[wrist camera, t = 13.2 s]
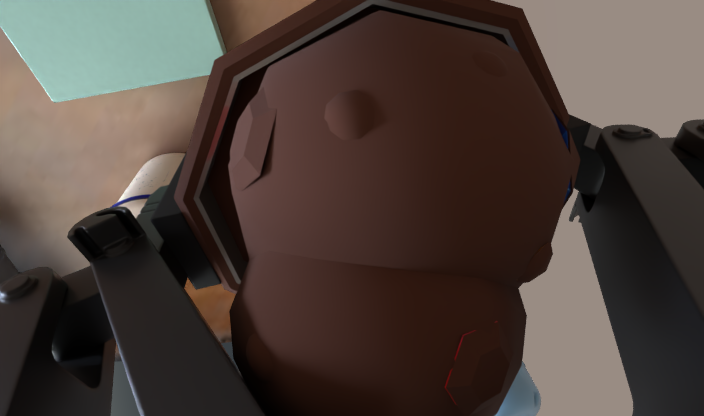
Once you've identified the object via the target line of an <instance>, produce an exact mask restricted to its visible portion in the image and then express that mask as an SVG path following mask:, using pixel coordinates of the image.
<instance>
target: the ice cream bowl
mask: <svg viewBox="0 0 704 416" xmlns="http://www.w3.org/2000/svg"><path fill="white" fill-rule="evenodd" d="M569 118H570V116H569V114H568V112H567V109H566V107H565V105H564V103H563V100H562V98H561V96H560V94H559V91H558V89H557V87H556V84H555V82H554V80H553V78H552V75H551V73H550V71H549V69H548V66H547V64H546V62H545V59H544V57H543V55H542V53H541V50H540V48H539V46H538V43H537V41H536V39H535V37H534V34H533V32H532V30H531V27H530V25H529V23H528V21H527V19H526V16H525V14H524V12H523V9H521V8H518V7H514V6H510V5H507V4H503V3H498V2H495V1H491V0H316V1H315V2H313V3H311V4H310V5H308V6H306V7H304V8H303V9H301V10H299V11H298V12H296V13H294V14H292V15H291V16H289V17H287V18H286V19H284V20H282V21H280V22H279V23H277V24H275V25H274V26H272V27H270V28H268V29H267V30H265V31H263V32H262V33H260V34H258V35H256V36H255V37H253V38H251V39H250V40H248V41H246V42H244V43H243V44H241V45H239V46H238V47H236V48H234V49H232V50H231V51H229V52H227V53H226V54H224V55H222V56H220V57H219V58H217V59H215V60H214V63H213V66H212V70H211V73H210V76H209V80H208V83H207V87H206V90H205V93H204V97H203V100H202V103H201V107H200V110H199V113H198V117H197V120H196V124H195V127H194V130H193V134H192V137H191V140H190V144H189V147H188V151H187V154H186V157H185V161H184V164H183V167H182V171H181V174H180V177H179V181H178V184H177V188H176V191H175V194H174V200H175V201H176V203H177V205H178V207H179V209H180V210H181V212H182V214H183V216H184V218H185V219H186V221H187V223H188V225H189V226H190V228H191V230H192V232H193V233H194V235H195V237H196V239H197V240H198V242H199V244H200V246H201V247H202V249H203V251H204V253H205V254H206V256H207V258H208V260H209V262H210V263H211V265H212V267H213V269H214V270H215V272H216V274H217V276H218V277H219V279H220V281H221V284H222V286H223V287H224V289H225V290H228V291H230V292H232V293H235V294H236V296H235V298H234V301H233V304H232V306H231V309H230V322H231V334H232V346H233V357H234V360H235V362H236V365H237V366H238V369H239V371H240V373H241V375H242V377H243V379H244V381H245V382H246V384H247V385H248V387H249V388H250V390H251V391H252V393H253V394H254V396H255V397H256V399H257V400H258V402H259V403H260V405H261V406H262V408H263V409H264V411H265V412H266V414H267V415H268V416H495V415H496V414H497V413H498V411H499V409H500V407H501V405H502V403H503V401H504V399H505V397H506V395H507V393H508V391H509V389H510V387H511V385H512V383H513V381H514V379H515V377H516V375H517V374H518V372H519V370H520V368H521V366H522V357H523V346H524V337H525V336H524V335H525V327H526V316H527V315H526V312H525V309H524V305H523V302H522V299H521V296H520V293H519V289H518V288H519V287H520V286H521V285H522V284H523V283H526V282H530V281H531V280H533V279H534V278H536V277H537V276H539V275H541V274H542V273H544V272H545V271H546V270H547V267H548V264H549V262H550V260H551V257H552V255H553V253H552V247H551V242H552V238H553V235H554V232H555V229H556V226H557V223H558V220H559V217H560V213H561V211H562V209H563V207H564V205H565V204H566V202H567V201H568V199H569V198H570V196H571V195H572V193H573V189H574V185H575V180H576V176H577V172H578V168H579V164H580V157H579V154H578V152H577V149H576V146H575V144H574V141H573V138H572V136H571V133H570V130H569V129H568V128H567V124H568V121H569Z"/></svg>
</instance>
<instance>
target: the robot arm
mask: <svg viewBox="0 0 704 416" xmlns="http://www.w3.org/2000/svg"><path fill="white" fill-rule="evenodd" d="M569 116H570V118H569V121H568V124H567V128H568V129H569V130H570V133H571V136H572V138H573V141H574V144H575V146H576V149H577V152H578V154H579V157H580V164H579V168H578V172H577V176H576V180H575V185H574V188H575V189H576V190H578V191H579V192H578V195H577V198H576V201H575V204H574V206H573V209H572V212H571V214H570V217H569V221H573V220H574V217H576V216H577V215H579V216H580V219H579V222H581V223H582V227H583V230H584V234H585V237H586V240H587V243H588V247H589V250H590V254H591V257H592V261H593V264H594V268H595V271H596V275H597V278H598V282H599V285H600V288H601V291H602V295H603V299H604V302H605V305H606V308H607V312H608V316H609V319H610V322H611V326H612V329H613V332H614V336H615V339H616V343H617V346H618V350H619V353H620V357H621V360H622V363H623V367H624V370H625V374H626V377H627V381H628V384H629V387H630V391H631V394H632V399H633V415H632V416H704V120H691V121H687V122H685V123H683V125H682V127H681V129H680V131H679V133H678V134H677V136H676V137H675V138H674V137H673V138H660V137H659V136H658V135H657V134H655V133H654V132H653V131H651V130H650V129H648V128H643V127H639V126H635V125H611V126H607V127H604V128H603V129H601V128H599V127H596V126H594V125H592V124H590V123H588V122H586V121H583V120H581V119H578V118H576V117H574V116H572V115H569ZM187 151H188V150H187ZM186 154H187V152H186ZM186 154H185V156H184V157H183V159H182V161H181V163H180V165H179V167H178V168H177V170H176V172H175V174H174V176H173V178H172V180H171V181H170V183H169V185H166V186H161V187H159V188H158V189H157V190H156V191H155V192H153V193H152V194H151V195H150V196H149V198H148V199H147V201H146V203H145V204H144V207H143V208H142V209H141V211H140V214H138V216H137V217H136V218H135V217H134V215H133V214H132V212H131V211H130V210H129V209H128V208H126V207H123V206H116V207H111V208H106V209H103V210H101V211H98V212H95V213H93V214H91V215H89V216H87V217H85V218H84V219H82V220H81V221H79V222H78V223H77V224H75V225H74V226H73V227H72V228H71V230H70V231H69V232H68V237H67V238H68V239H69V240H70V241H71V242H72V243H73V244H74V245H75V246H76V248H77V249H78V250H79V251H80V252H81V253H82V254H83V255H84V256H85V258H86V259H87V260H88V261H89V262H90V264H91V266H89V267H86V268H84V269H81V270H79V271H77V272H74V273H72V274H69V275H67V276H64V277H62V278H61V277H60V276H58V275H57V274H56V273H55V272H54V271H53V270H52V269H50V268H48V267H38V268H35V269H31V270H28V271H25V272H23V273H21V274H17V275H14V276H13V277H11V278H9V280H6V281H4V282H3V283H1V284H0V416H110V413H111V401H112V387H113V374H114V361H115V347H116V343H117V346H118V349H119V352H120V355H121V358H122V361H123V364H124V367H125V370H126V373H127V377H128V380H129V382H130V386H131V389H132V392H133V395H134V398H135V400H136V404H137V407H138V410H139V413H140V416H268V415H267V414H266V412H265V411H264V409H263V408H262V406H261V405H260V403H259V402H258V400H257V399H256V397H255V396H254V394H253V393H252V391H251V390H250V388H249V387H248V385H247V384H246V382H245V381H244V379H243V377H242V375H241V373H240V372H239V370H238V369H237V367H236V366H235V364H234V363H233V361H232V360H231V358H230V357H229V355H228V354H227V352H226V351H225V349H224V348H223V346H222V345H221V343H220V341H219V340H218V338H217V337H216V335H215V334H214V332H213V331H212V329H211V328H210V326H209V325H208V323H207V322H206V320H205V319H204V317H203V316H202V314H201V313H200V311H199V310H198V308H197V307H196V305H195V304H194V302H193V301H192V299H191V298H190V296H189V295H188V293H187V292H186V291H185V289H184V287H185V284H186V281H187V277H188V278H189V280H190V281H191V283H192V284H193V286H194V287H195V289H201V288H205V287H209V286H213V285H217V284H221V281H220V279H219V277H218V276H217V274H216V272H215V270H214V269H213V267H212V265H211V263H210V262H209V260H208V258H207V256H206V254H205V253H204V251H203V249H202V247H201V246H200V244H199V242H198V240H197V239H196V237H195V235H194V233H193V232H192V230H191V228H190V226H189V225H188V223H187V221H186V219H185V218H184V216H183V214H182V212H181V210H180V209H179V207H178V205H177V203H176V201H175V200H174V194H175V191H176V188H177V184H178V181H179V177H180V174H181V171H182V167H183V164H184V161H185V157H186ZM540 405H541V398H540V394H539V391H538V389H537V387H536V386H535V384H534V382H533V380H532V378H531V377H530V375H529V373H528V371H527V370H526V368H525V364H524V363H523V361H522V366H521V368H520V370H519V372H518V374H517V375H516V377H515V379H514V381H513V383H512V385H511V387H510V389H509V391H508V393H507V395H506V397H505V399H504V401H503V403H502V405H501V407H500V409H499V411H498V413H497V414H496V415H495V416H536V414H537V413H538V411H539V409H540Z"/></svg>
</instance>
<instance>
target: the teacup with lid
mask: <svg viewBox="0 0 704 416" xmlns="http://www.w3.org/2000/svg"><path fill="white" fill-rule="evenodd" d="M184 156H185V154H184V153H168V154H163V155H159V156H157V157H154V158H152V159H151V160H149V161H148V162H147V163H146V164H145V165H144V166H143V167H142V168H141V170H140V171H139V172H138V174H137V175H136V177H135V178H134V179H133V181H132V182H131V184H130V185H129V186H128V188H127V189H126V191H125V192H124V193H123V195H122V196H121V198H120V199H119V201H118V202H117V203H116V204H114V205H113V206H112V207H116V206H123V207H126V208H128V209H129V210H130V211H131V212H132V214H133V215H134V217H135V218H136V217H137V216H138V214H140V211H141V209H142V208H143V207H144V204H145V203H146V201H147V199H148V198H149V196H150V195H151V194H152V193H153V192H155V191H156V190H157V189H158V188H159V187H161V186H166V185H169V183H170V181H171V180H172V178H173V176H174V174H175V172H176V170H177V168H178V167H179V165H180V163H181V161H182V159H183V157H184ZM110 208H111V207H110Z"/></svg>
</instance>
